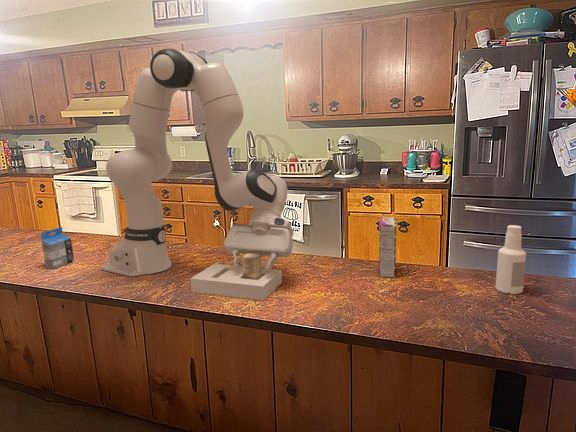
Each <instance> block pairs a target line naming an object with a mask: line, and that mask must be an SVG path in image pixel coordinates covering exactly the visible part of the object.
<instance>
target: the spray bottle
mask: <svg viewBox="0 0 576 432" xmlns="http://www.w3.org/2000/svg"><path fill="white" fill-rule="evenodd" d="M506 228H507V229H506V233H505V238H504V239H505V241H504V245H503V247H500V248H499V249H498V251H497V261H496V262H497V264H496V276H495V286H494V287H495V289H496V290H497V291H498V292H500V291H501V292H500V293H503V294H507V293H510V294H509V295H519V294H521V292H522V293H523V290H524V282H525V271H526V261H527V260H526V259H527V252H526V251H525V250H524V249H523V248H522V239H523V238H522V237H523V235H522V226H521V225H516V224H509V225H508V226H507V227H506Z"/></svg>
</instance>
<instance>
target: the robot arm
mask: <svg viewBox="0 0 576 432" xmlns="http://www.w3.org/2000/svg"><path fill="white" fill-rule="evenodd" d="M134 88H135V89H134V92H133V95H132V96H133V97H132V101H131V102H132V103H131V108H130V116H129V120H128V126H129V130H130V131H131V132H132V133H133V138H134V141H135V142H134V143H135V144H134V148H133V149H127V150H126V149H125V150H124V149H123V150H121V151H119V152H117V153H115V154H112V155H111V156H110V157H109V158H108V159H107V161H106V165H105V172H106V175H107V177H108V179H109V180H110V181H111V182H112V183H113V184H114V185H115V186H117V188H118V190H119V191H120V193H121V196H122V199H123V201H124V204H125V211H126V218H127V219H126V220H127V227H126V228H124V229H123V228H122V229H120V231H121V234H124V238H123V239H122V240H121V241H119V242H118V243H117V244H116V245H114V247H112V248H111V249H110V251H109V254H108V255H109V256H108V262H106V263H104V264H103V265H102V267H101V270H102V271H104V272H109V273H115V274H118V275H123V276H126V277H127V276H128V277H137V276H142V275H148V274H149V275H151V274H157V273H161V272H163V271H164V272H165V271H166V270H168V269H170V268H171V267H172V262H171V260H170V256H169V253H168V249H167V242H166V239H167V238H166V237H167V235H166V234H167V233H166V225H165V223H164V216H163V215H164V214H163V213H164V212H163V211H164V210H163V203H162V200H161V198H159V197H158V196H157V195H156V194H155V190H154V188H153V184H152V182H156V181H157V182H158V181H160V180H162V179H163V178H165V177H167V175H169V174H170V173H171V170H172V168H173V162H172V157H171V155H170V154H169V153H168V148H167V130H168V121H169V116H170V111H171V105H172V99H173V96H174V94H175V93H177V92H178V91H180V92H183V93H184V92H195V93H196V94H197V96H198V98H199V101H200V104H201V107H202V110H203V113H204V118H205V134H204V139H205V140H204V142H205V146H206V151H207V155H208V160H209V163H210V168H211V169H210V170H211V173H212V177H213V183H214V185H213V186H214V196H215V197H214V198H215V199H216V202H217V204H218V205H219V206H221V208H223V209H224V210H225V211H228V212H235V211H237V210H239V209H242V208H244V207H247V206H249V205H250V206H252V207H253V210H252V212H251V216H250V219H249V222H248V223H235V224H232V225H231V226H230V228H229V231H228V233H227V235H226V238H225V240H224V242H223V247H224V248H225V249H226V251H227V252H228V253H232V254H233V258H234V260H233V265H234V266H241V264H242V259H241V258H240V256H241V254H244V255H246V254H247V253H254V254H261V256H265V257H266V256H269V257H270V258H269V260H265V262H264V266H263V267H264V269H272V267H273V264H275V263H276V262H277V261H278V258H289V257H290V256H291V255H292V253H293V249H294V239H293V236H294V229H293V228H292V225H291V223H290V222H289V220H287V219H286V218H282V213H283V212H284V210H285V207H286V202H287V198H288V185H287V182H286V181H285V180H284V179H283V178H282V177H280V176H278V175H273V174H272V175H268V174H266V173H265V172H264V171H262V170H261V169H259V168H252V169H248V170H245V171H242V172H241V173H239V174H236V175H234V174H233V171H232V166H231V162H230V156H229V153H228V148H229V147H228V146H229V142H230V140H231V138H232V137H233V135H234V134H235V132H237V131H238V130H239V128H240V126H241V125H242V122H243V119H244V108H243V104H242V101H241V98H240V95H239V92H238V89H237V87H236V85H235V83H234V80H233V79H232V77H231V75H230V73H229V71H228V69H227V68H226V67H225V66H224V65H223V63H220V62H216V61H215V62H208V61H207V60H205V58H203V57H202V56H200V55H198V54H194V53H193V52H191V51H187V50H180V49H175V48H163V49H160V50H158V51H156V52H155V53H154V55H153V56H152V58H151V60H150V65H149V67H146V68H144V69H143V70H141V71H140V74H139V76H138V78H137V81H136V85H135V87H134Z"/></svg>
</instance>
